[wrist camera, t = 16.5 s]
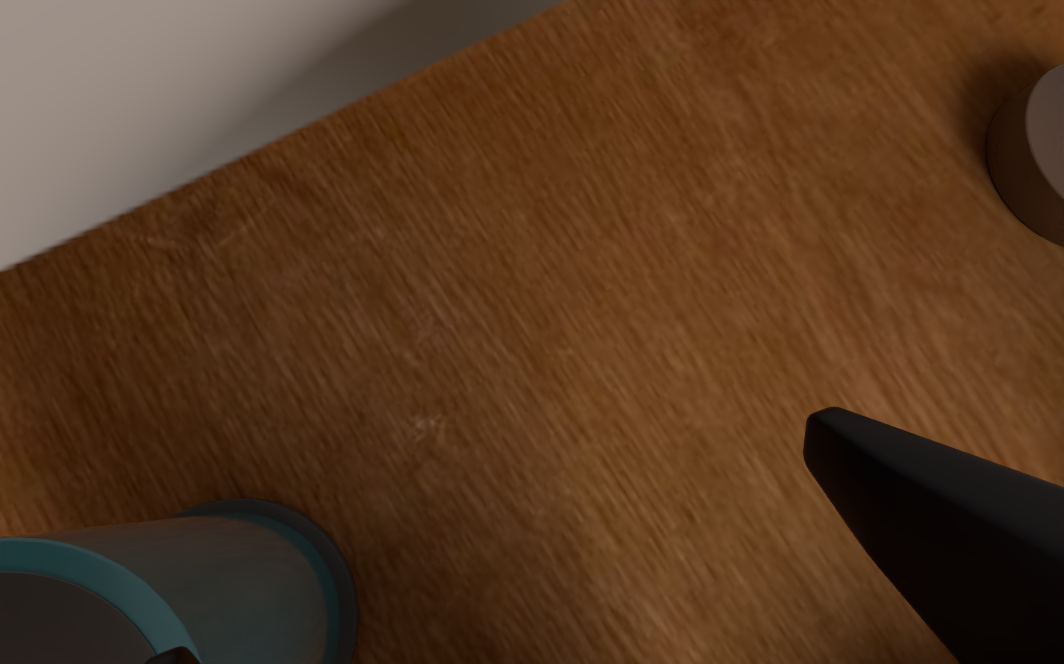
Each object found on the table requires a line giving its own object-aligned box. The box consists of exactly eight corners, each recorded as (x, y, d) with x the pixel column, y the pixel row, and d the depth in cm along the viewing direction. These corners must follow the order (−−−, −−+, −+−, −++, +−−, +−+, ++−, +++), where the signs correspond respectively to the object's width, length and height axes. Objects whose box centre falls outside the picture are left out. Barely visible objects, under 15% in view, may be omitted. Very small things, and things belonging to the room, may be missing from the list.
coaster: (159, 826, 18) (149, 837, 17) (57, 580, 19) (44, 583, 18) (402, 672, 19) (400, 677, 19) (294, 454, 21) (289, 453, 20)
